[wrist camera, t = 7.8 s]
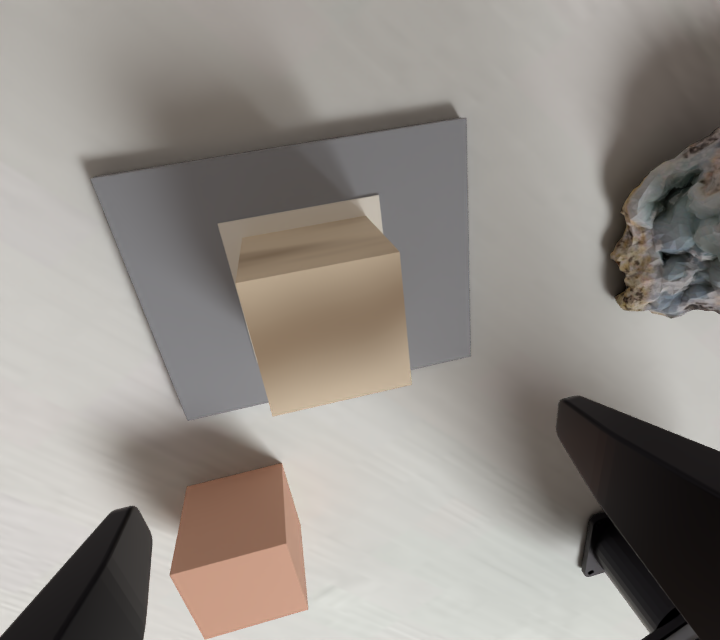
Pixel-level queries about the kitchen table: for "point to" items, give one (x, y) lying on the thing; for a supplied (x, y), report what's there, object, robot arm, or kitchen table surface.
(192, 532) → the terracotta cube
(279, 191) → the slate board
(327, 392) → the beech cube
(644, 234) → the mineral specimen
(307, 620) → the kitchen table surface
